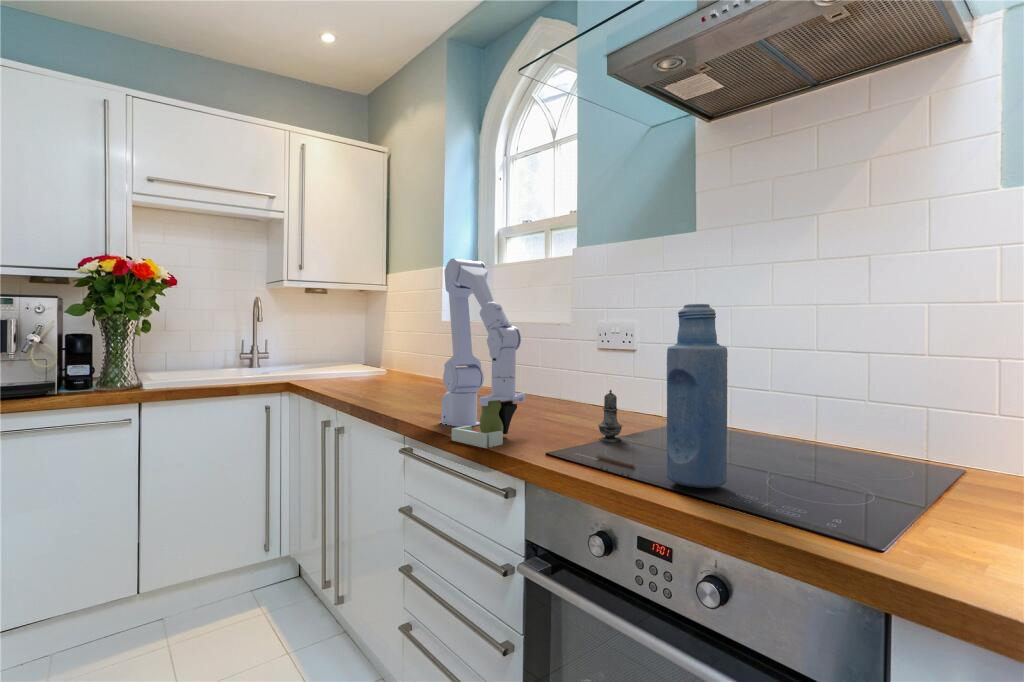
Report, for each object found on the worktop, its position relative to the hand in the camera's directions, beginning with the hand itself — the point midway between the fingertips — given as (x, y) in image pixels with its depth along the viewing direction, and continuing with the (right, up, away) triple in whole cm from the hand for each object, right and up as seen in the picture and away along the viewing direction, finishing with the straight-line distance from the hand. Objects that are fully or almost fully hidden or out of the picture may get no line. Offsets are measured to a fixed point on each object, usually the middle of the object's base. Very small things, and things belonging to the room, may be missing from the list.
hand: (503, 433), depth 128 cm
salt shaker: (+26, -2, -1) cm, 26 cm away
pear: (-2, -1, -3) cm, 4 cm away
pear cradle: (-6, -1, -7) cm, 9 cm away
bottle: (+33, -2, -38) cm, 50 cm away
